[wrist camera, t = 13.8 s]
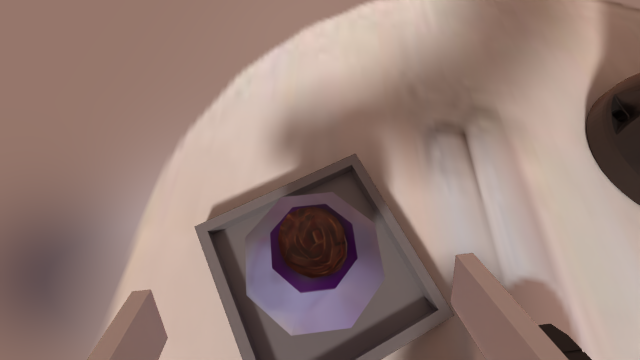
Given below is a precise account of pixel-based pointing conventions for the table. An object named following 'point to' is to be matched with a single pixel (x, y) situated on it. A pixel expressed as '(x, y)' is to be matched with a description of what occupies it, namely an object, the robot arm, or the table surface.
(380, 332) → the charcoal tray
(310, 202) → the potion bottle
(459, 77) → the table surface
